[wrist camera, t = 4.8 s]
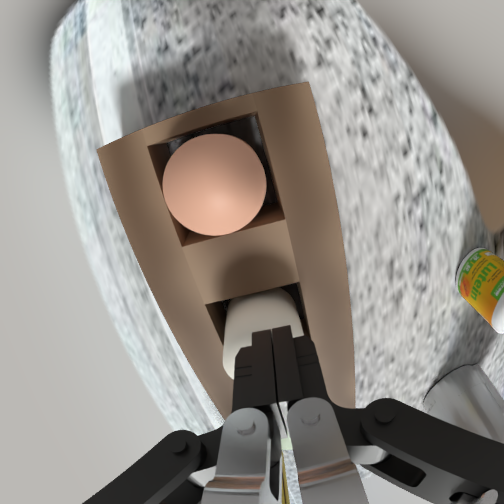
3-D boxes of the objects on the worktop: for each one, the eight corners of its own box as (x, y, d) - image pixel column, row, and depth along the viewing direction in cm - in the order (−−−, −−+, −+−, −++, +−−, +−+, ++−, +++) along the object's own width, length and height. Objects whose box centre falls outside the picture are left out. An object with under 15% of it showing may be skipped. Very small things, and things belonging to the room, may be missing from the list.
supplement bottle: (469, 239, 21) (539, 290, 12) (495, 253, 21) (555, 299, 12) (445, 289, 23) (503, 351, 14) (473, 297, 23) (525, 352, 14)
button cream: (289, 276, 19) (301, 319, 15) (301, 332, 21) (313, 378, 16) (217, 294, 19) (210, 340, 15) (238, 346, 21) (237, 394, 17)
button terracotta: (249, 124, 16) (250, 121, 12) (269, 199, 18) (277, 221, 14) (173, 147, 17) (149, 153, 13) (196, 219, 19) (181, 246, 14)
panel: (295, 91, 16) (308, 81, 13) (345, 386, 27) (355, 415, 23) (123, 144, 17) (96, 149, 14) (238, 410, 28) (238, 439, 24)
